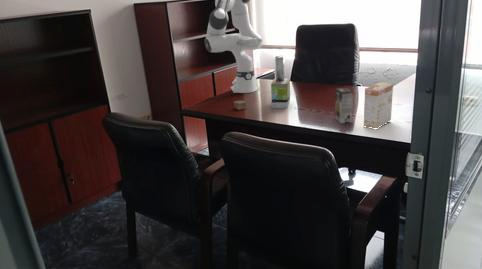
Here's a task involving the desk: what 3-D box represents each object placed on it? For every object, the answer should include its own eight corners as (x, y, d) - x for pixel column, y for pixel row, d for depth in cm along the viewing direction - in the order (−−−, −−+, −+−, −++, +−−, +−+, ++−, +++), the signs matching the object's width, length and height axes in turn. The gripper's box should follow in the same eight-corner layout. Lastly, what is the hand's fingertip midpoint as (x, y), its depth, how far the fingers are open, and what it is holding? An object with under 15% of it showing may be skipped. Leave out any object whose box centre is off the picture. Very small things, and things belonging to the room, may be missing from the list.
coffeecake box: (378, 119, 205) (380, 81, 198) (391, 121, 200) (394, 83, 193) (362, 127, 196) (364, 88, 189) (376, 130, 191) (378, 90, 184)
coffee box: (334, 118, 211) (335, 88, 206) (346, 117, 212) (347, 87, 206) (340, 123, 203) (340, 92, 197) (352, 122, 203) (353, 91, 197)
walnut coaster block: (234, 108, 240) (234, 102, 239) (241, 106, 243) (240, 100, 241) (239, 110, 236) (239, 103, 235) (246, 108, 239) (245, 101, 237)
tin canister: (274, 80, 238) (273, 56, 233) (282, 79, 240) (281, 55, 235) (278, 81, 233) (277, 57, 229) (286, 80, 235) (285, 56, 230)
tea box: (288, 108, 234) (287, 83, 229) (271, 108, 236) (270, 83, 231) (290, 101, 248) (289, 77, 242) (274, 101, 250) (273, 77, 244)
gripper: (241, 37, 209) (265, 35, 213) (228, 34, 227) (250, 32, 232) (241, 49, 211) (265, 47, 216) (228, 45, 229) (251, 43, 234)
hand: (257, 39), depth 224 cm, fingers open, 8 cm apart
